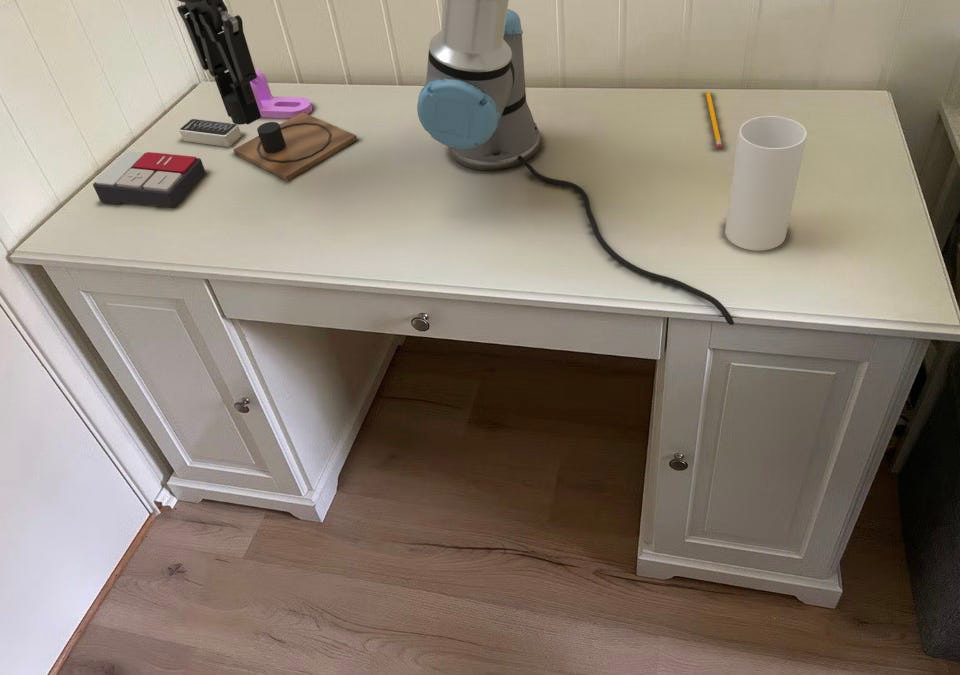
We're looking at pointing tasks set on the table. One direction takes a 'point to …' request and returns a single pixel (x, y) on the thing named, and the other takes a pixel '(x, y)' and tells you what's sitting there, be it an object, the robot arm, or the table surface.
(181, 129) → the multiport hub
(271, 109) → the bracket
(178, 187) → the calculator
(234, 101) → the eye puck
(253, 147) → the board
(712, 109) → the pencil
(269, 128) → the eye puck
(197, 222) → the table surface
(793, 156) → the cup
